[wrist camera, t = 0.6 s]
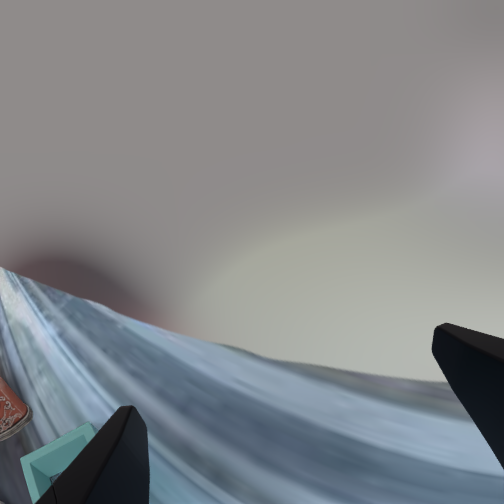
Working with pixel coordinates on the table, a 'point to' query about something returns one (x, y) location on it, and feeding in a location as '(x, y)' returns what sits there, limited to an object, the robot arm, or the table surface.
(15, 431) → the lighter
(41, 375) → the table surface
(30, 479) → the teal socket
